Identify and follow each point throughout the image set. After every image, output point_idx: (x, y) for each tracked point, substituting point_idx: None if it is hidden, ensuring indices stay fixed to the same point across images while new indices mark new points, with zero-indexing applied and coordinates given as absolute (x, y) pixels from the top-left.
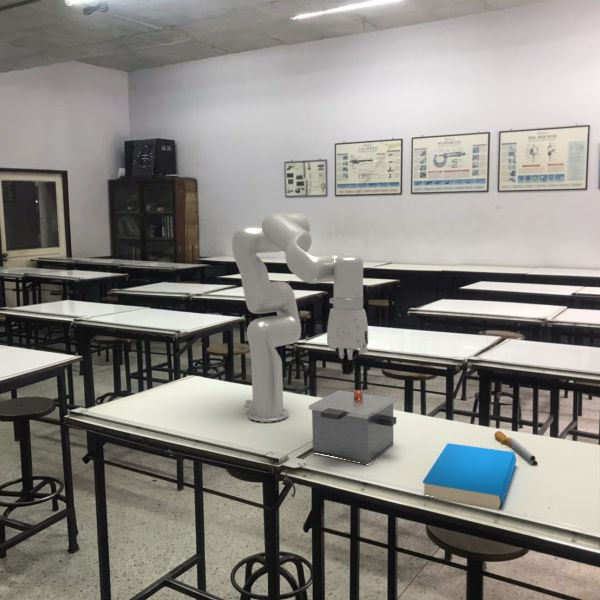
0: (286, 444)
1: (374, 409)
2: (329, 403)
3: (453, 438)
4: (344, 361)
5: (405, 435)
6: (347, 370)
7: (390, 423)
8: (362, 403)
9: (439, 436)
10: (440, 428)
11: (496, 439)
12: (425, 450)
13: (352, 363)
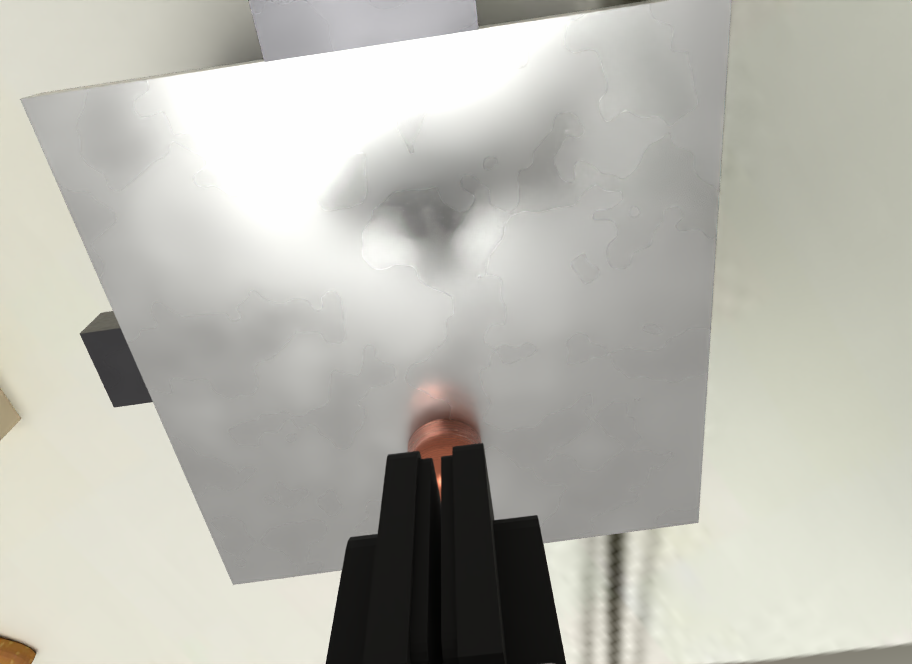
0: (814, 52)
1: (119, 288)
2: (573, 192)
3: (155, 577)
4: (458, 623)
5: None
6: (389, 493)
7: (101, 321)
8: (324, 364)
9: (214, 566)
10: (270, 629)
11: (19, 644)
12: (145, 416)
13: (338, 657)
